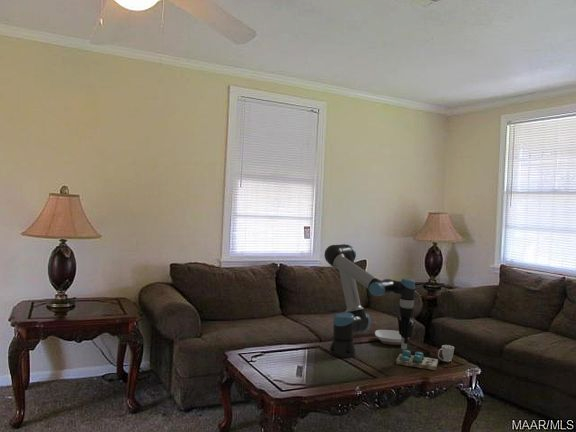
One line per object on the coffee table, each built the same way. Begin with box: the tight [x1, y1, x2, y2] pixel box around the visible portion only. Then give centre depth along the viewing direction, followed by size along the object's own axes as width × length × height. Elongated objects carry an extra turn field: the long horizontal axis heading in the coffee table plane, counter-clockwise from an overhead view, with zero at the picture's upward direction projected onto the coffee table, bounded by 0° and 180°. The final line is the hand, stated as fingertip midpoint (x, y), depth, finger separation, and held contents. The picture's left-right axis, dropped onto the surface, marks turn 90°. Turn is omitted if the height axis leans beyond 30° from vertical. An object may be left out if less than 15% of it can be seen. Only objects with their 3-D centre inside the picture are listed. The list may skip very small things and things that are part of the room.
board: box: [395, 353, 439, 371], centre depth 263 cm, size 21×14×2 cm, turn 67°
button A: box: [400, 356, 409, 362], centre depth 262 cm, size 4×4×3 cm
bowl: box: [374, 329, 402, 346], centre depth 305 cm, size 22×22×5 cm
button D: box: [414, 351, 424, 359], centre depth 266 cm, size 4×4×3 cm
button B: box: [401, 349, 411, 357], centre depth 269 cm, size 4×4×3 cm
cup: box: [437, 344, 455, 363], centre depth 270 cm, size 7×10×8 cm
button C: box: [413, 354, 422, 363], centre depth 260 cm, size 4×4×3 cm
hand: (404, 348), depth 263 cm, fingers closed
